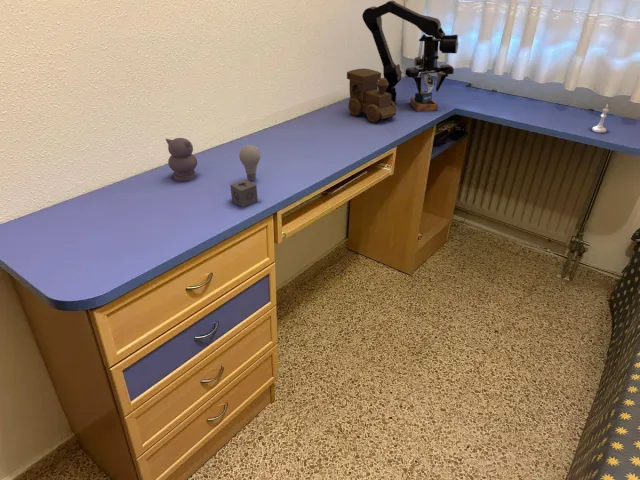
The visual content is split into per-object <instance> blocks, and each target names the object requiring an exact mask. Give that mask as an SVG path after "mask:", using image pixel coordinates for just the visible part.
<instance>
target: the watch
mask: <svg viewBox="0 0 640 480" xmlns="http://www.w3.org/2000/svg"><path fill="white" fill-rule="evenodd" d="M422 76H423V83H424V86H425V87H426V89H427V90H424V89H423V86H422V85H421V91H420V93H419V92H416V93H414V98H415V101H417V102H420V103H425V102H428V101H431V99H432V96H433V93H432V91H433V89H434V86H435V78H434V77H433V76H432V75H431V74H430V73H426V74H420V77H421V78H422ZM415 86H416V87H417V85H416V84H415ZM432 100H433V99H432Z"/></svg>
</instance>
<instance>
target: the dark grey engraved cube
mask: <svg viewBox="0 0 640 480" xmlns="http://www.w3.org/2000/svg"><path fill="white" fill-rule="evenodd" d="M229 187H230V194H231V202H233V203H234V204H236V205H237V206H239V207H241V208H245V207H248V206H250V205H253V204H256V203H257V202H258V187H257V185H256V184H255V183H253V182H252V181H250V180H248V179H243V180H240V181H236V182H234V183H231V184H230V185H229Z"/></svg>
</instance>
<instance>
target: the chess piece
mask: <svg viewBox="0 0 640 480" xmlns="http://www.w3.org/2000/svg"><path fill="white" fill-rule="evenodd" d="M608 108H609V104H608V103H606V105H605V108H602V114H600V117H601V118H600V121H599V123H598V124H597V125H596V126H593V127H592V128H591V130H592V131H593V132H595V133H599V134H600V133H601V134H603V133H606V132H607V128H606V127H604V122H605V118H607V117H608V115H607V114H608V113H609V109H608Z"/></svg>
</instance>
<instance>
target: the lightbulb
mask: <svg viewBox="0 0 640 480" xmlns="http://www.w3.org/2000/svg"><path fill="white" fill-rule="evenodd" d="M260 151H261V150H260V149H259V148H258V147H256V146H255V145H253V144H247V145H244V146H243V147H241V149H240V150H239V153H238V154H239V156H238V158H239V161H240V162H241V164H242V165H243V167H244V170H245V174H246V178H247V179H246V180H248V181H250V182H254V180H256V179H257V169H258V165H259V163H260V160H261V152H260Z"/></svg>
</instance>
